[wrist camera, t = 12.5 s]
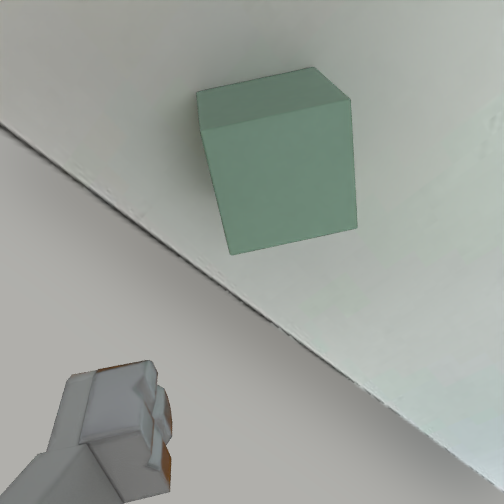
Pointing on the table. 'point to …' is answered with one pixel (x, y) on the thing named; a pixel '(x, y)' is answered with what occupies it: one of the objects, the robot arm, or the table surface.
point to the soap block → (280, 158)
